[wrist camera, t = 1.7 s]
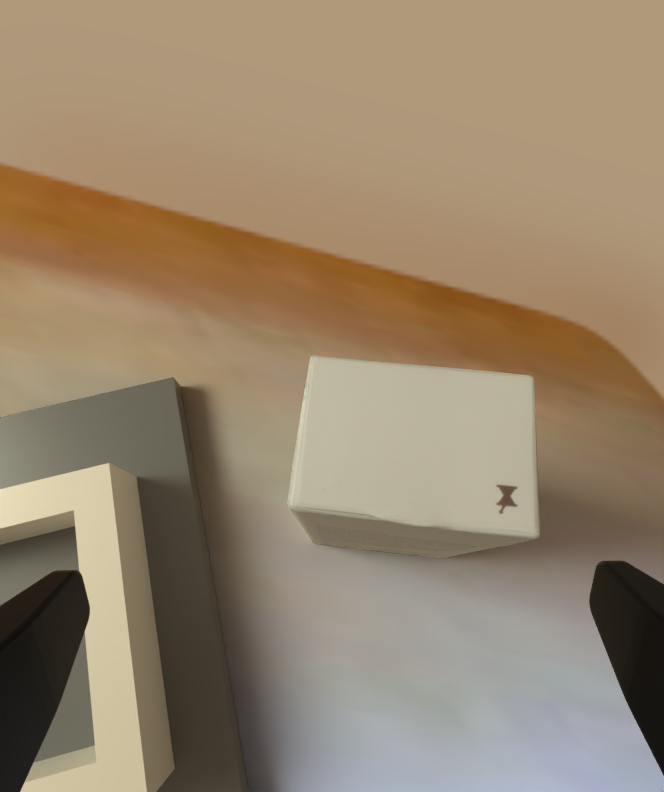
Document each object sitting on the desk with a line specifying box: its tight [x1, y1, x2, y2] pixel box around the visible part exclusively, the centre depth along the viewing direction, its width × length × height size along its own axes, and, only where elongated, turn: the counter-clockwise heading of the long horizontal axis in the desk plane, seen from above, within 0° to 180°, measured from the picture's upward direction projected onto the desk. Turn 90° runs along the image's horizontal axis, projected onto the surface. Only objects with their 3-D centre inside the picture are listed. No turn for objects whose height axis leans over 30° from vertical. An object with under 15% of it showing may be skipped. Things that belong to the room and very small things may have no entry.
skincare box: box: [287, 355, 540, 558], centre depth 18 cm, size 6×4×12 cm
